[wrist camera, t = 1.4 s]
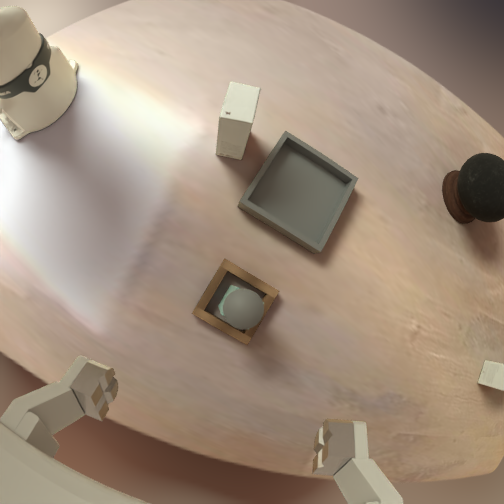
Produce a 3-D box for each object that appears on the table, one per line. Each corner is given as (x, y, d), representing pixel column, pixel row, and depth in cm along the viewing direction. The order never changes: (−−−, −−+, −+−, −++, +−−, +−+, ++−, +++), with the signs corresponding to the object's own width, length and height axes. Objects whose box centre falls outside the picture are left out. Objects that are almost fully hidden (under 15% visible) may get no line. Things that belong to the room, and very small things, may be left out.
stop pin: (214, 306, 44) (215, 316, 32) (229, 280, 45) (236, 281, 33) (240, 322, 44) (250, 336, 33) (255, 296, 45) (271, 301, 33)
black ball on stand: (469, 166, 54) (515, 145, 39) (483, 224, 53) (534, 212, 38) (431, 167, 52) (482, 141, 37) (447, 232, 51) (503, 219, 36)
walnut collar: (192, 312, 44) (192, 313, 42) (224, 259, 45) (224, 258, 43) (245, 342, 44) (247, 345, 42) (276, 290, 45) (279, 290, 43)
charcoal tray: (237, 206, 46) (239, 201, 43) (281, 138, 48) (285, 130, 45) (314, 253, 47) (320, 252, 44) (350, 183, 49) (358, 178, 46)
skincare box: (242, 161, 47) (252, 125, 35) (215, 155, 46) (217, 117, 34) (249, 128, 47) (261, 87, 35) (224, 122, 47) (229, 80, 35)
